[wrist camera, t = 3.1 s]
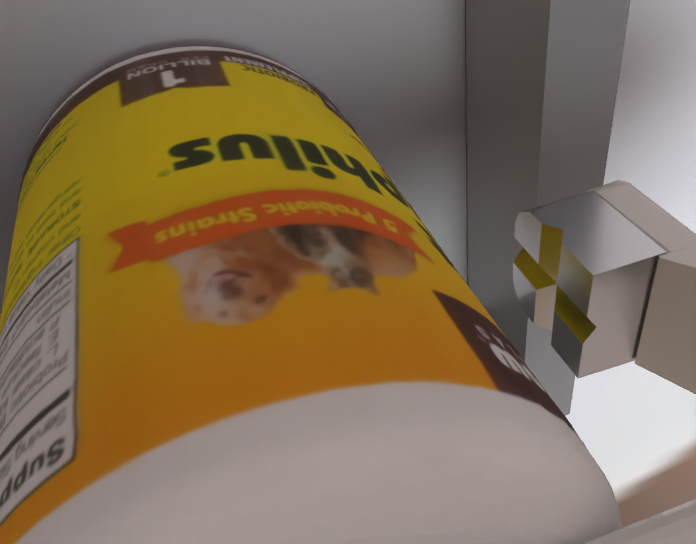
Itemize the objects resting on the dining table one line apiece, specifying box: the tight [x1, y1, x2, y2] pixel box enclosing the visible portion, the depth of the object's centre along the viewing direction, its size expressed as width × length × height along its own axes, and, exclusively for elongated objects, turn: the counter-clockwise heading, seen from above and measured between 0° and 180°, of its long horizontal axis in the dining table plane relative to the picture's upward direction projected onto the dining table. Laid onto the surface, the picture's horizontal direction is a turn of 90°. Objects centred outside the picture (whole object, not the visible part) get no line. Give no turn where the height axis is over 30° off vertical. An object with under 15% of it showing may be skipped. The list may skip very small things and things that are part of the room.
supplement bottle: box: [0, 46, 622, 544], centre depth 8 cm, size 6×6×10 cm
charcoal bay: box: [466, 0, 630, 415], centre depth 11 cm, size 12×11×2 cm
